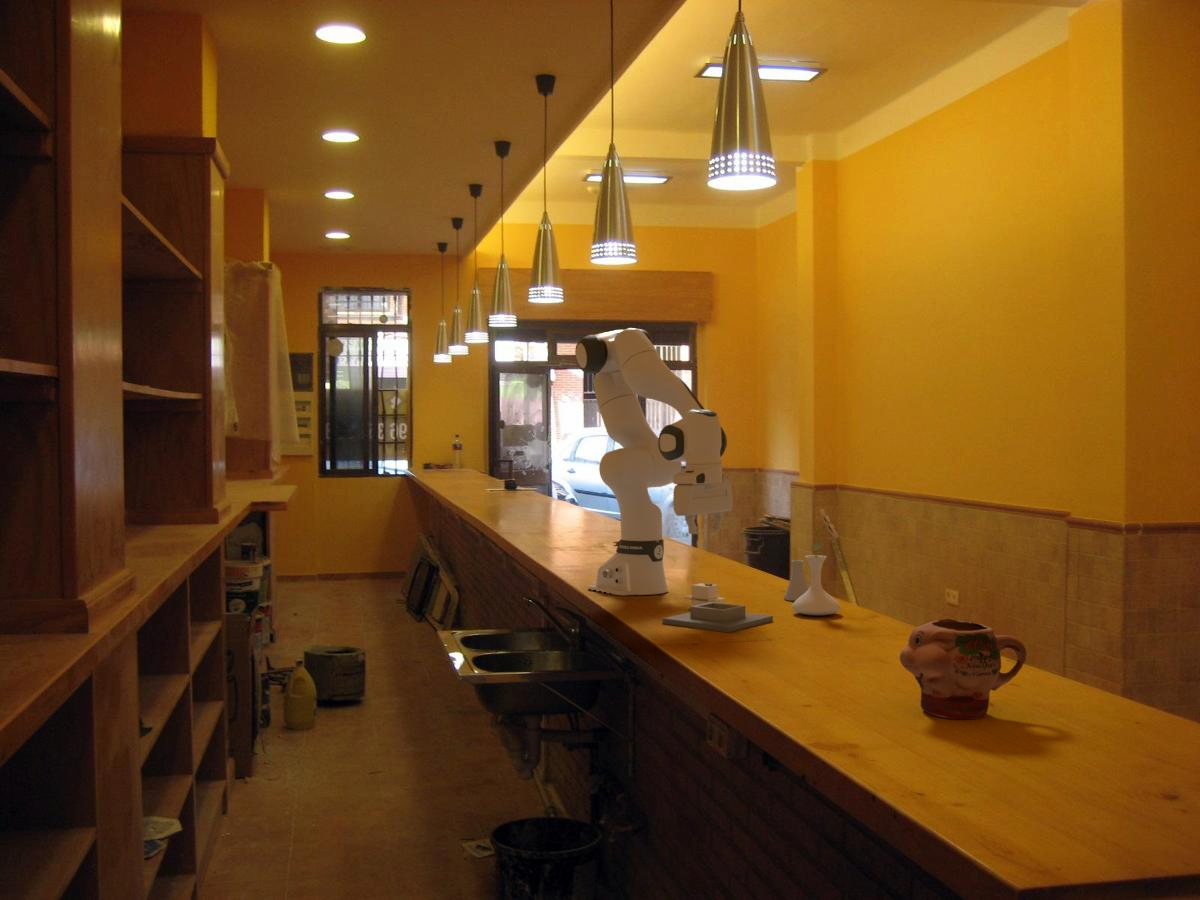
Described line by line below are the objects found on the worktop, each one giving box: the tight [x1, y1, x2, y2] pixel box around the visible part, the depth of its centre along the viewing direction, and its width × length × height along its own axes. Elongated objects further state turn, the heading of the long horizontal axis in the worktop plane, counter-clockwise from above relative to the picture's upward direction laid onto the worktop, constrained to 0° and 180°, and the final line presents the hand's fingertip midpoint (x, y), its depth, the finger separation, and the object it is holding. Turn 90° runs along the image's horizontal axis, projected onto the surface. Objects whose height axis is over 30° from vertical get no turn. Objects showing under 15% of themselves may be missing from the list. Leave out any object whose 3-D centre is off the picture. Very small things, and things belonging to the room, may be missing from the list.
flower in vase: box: [791, 508, 841, 616], centre depth 270 cm, size 13×11×25 cm
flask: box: [783, 559, 809, 602], centre depth 293 cm, size 7×7×10 cm
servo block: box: [683, 582, 726, 606], centre depth 279 cm, size 9×4×6 cm, turn 49°
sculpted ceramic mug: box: [899, 618, 1027, 720], centre depth 179 cm, size 20×12×14 cm, turn 99°
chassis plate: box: [662, 602, 774, 634], centre depth 260 cm, size 18×18×4 cm
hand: (704, 532), depth 278 cm, fingers open, 8 cm apart
